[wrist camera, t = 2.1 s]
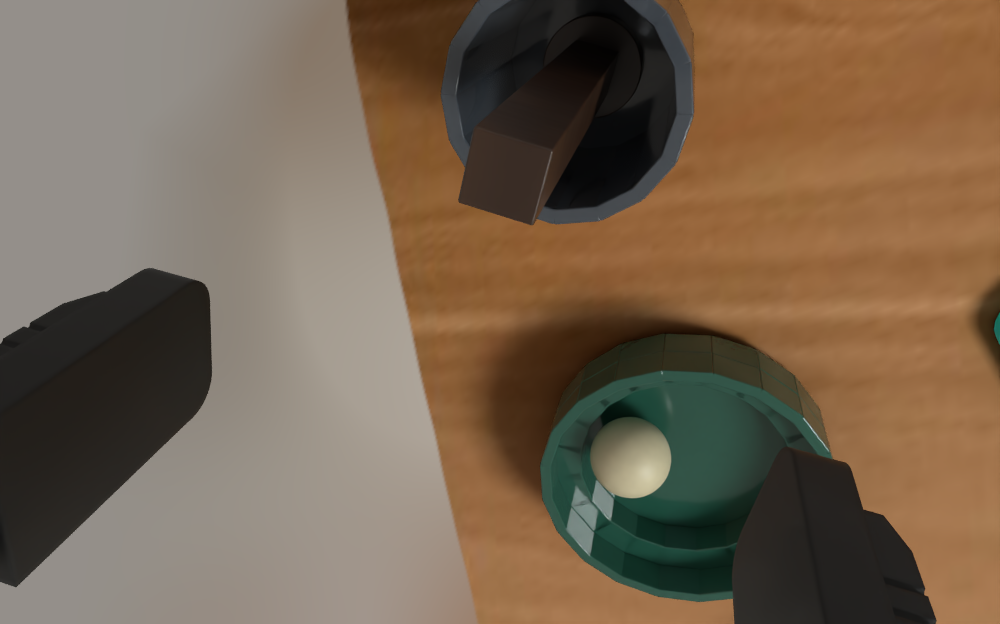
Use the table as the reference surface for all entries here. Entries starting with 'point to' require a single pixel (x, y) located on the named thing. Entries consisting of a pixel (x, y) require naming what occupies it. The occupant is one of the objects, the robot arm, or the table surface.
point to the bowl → (675, 458)
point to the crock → (610, 139)
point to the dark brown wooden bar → (550, 117)
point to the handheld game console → (997, 328)
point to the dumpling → (630, 457)
